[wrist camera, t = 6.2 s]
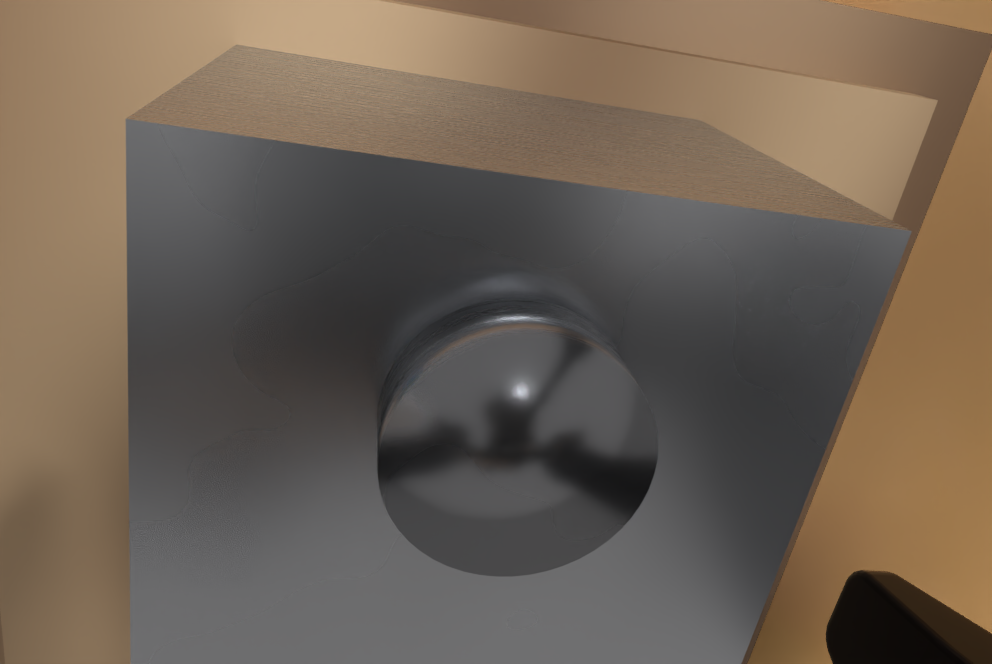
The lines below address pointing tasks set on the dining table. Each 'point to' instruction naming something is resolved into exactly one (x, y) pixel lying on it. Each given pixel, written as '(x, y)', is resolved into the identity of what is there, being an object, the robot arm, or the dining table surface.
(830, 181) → the tray
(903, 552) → the dining table surface
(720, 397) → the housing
